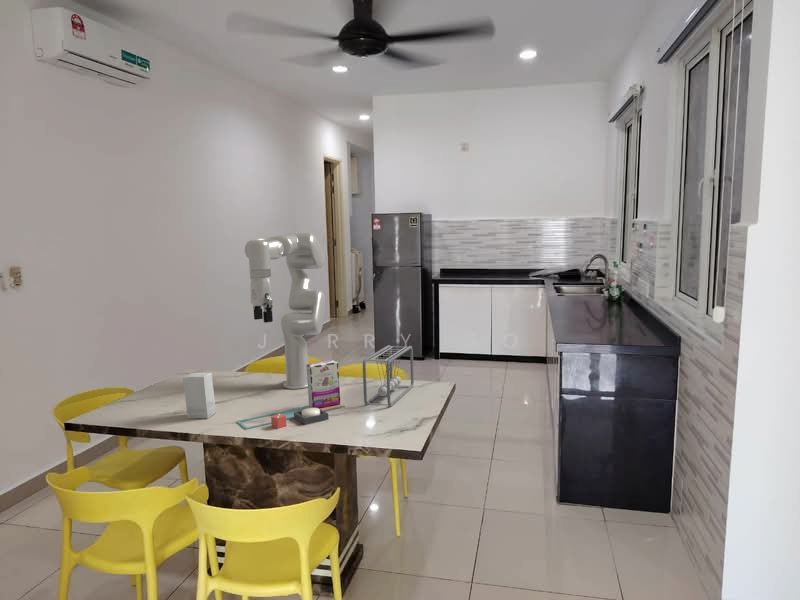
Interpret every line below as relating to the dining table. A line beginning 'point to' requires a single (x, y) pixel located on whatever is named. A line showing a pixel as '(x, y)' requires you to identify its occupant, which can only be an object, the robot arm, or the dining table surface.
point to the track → (287, 413)
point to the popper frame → (312, 419)
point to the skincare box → (199, 395)
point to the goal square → (329, 407)
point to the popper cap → (310, 412)
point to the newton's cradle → (388, 375)
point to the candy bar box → (323, 384)
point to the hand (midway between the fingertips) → (263, 320)
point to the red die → (278, 421)
